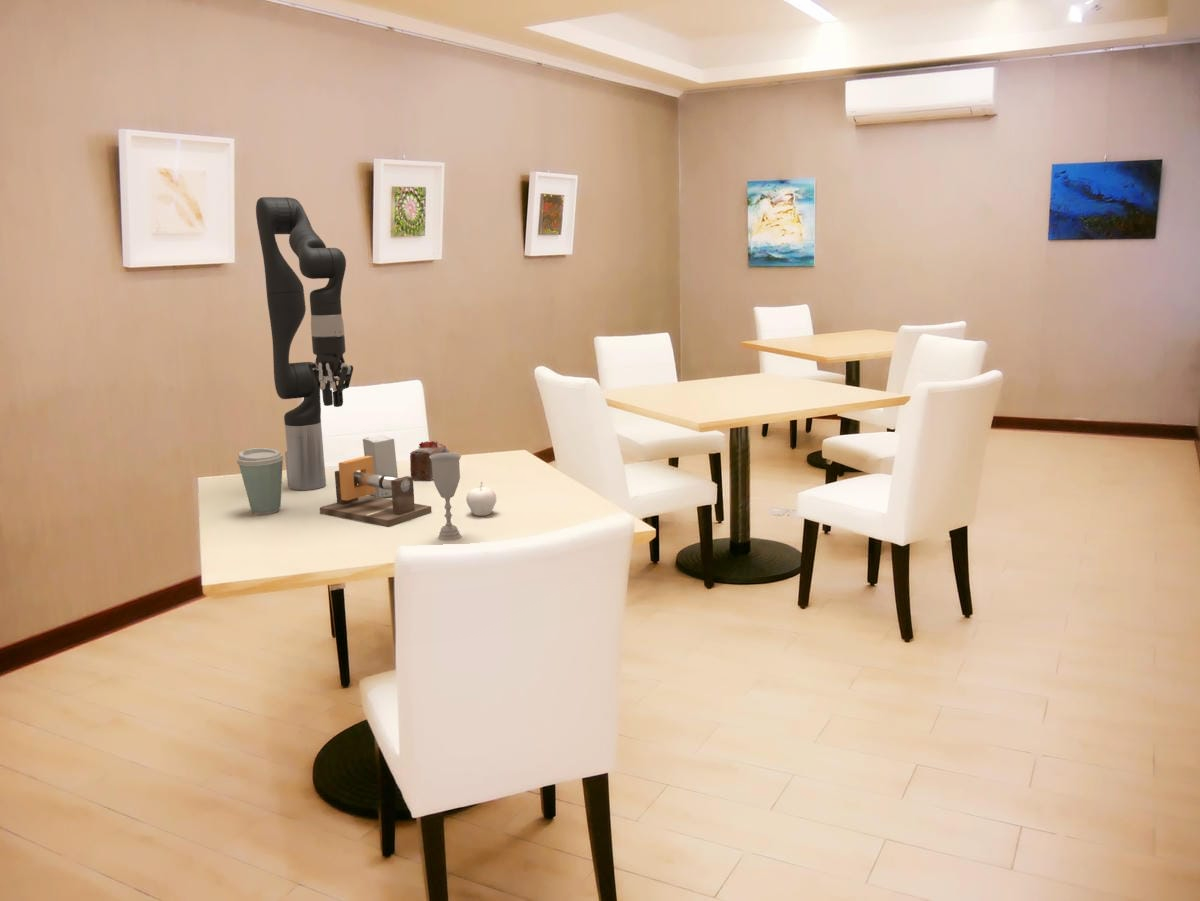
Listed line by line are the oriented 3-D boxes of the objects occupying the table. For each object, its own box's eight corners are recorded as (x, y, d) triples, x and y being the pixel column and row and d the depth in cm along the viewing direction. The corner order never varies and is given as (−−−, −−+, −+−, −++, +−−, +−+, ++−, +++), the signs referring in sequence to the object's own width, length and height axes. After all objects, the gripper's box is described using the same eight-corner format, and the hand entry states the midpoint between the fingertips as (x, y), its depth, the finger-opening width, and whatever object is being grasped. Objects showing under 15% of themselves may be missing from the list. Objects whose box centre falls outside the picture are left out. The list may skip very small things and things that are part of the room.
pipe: (338, 483, 234) (337, 470, 233) (348, 480, 236) (347, 467, 236) (400, 493, 222) (400, 480, 222) (410, 490, 225) (410, 477, 224)
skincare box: (400, 495, 247) (396, 438, 244) (377, 499, 244) (373, 441, 241) (388, 489, 254) (384, 433, 251) (365, 492, 250) (361, 436, 247)
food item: (425, 470, 276) (423, 436, 274) (452, 470, 275) (450, 436, 273) (408, 481, 263) (406, 445, 261) (436, 481, 261) (434, 446, 259)
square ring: (341, 499, 230) (338, 462, 228) (369, 491, 237) (367, 455, 235) (347, 500, 229) (344, 463, 227) (375, 492, 236) (372, 456, 234)
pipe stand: (320, 513, 231) (317, 474, 229) (363, 500, 243) (361, 463, 241) (388, 526, 219) (386, 486, 217) (431, 512, 230) (429, 473, 228)
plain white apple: (473, 519, 223) (471, 486, 222) (463, 512, 230) (461, 480, 228) (501, 515, 226) (500, 482, 225) (490, 508, 233) (489, 476, 231)
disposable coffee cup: (297, 507, 237) (292, 447, 234) (269, 519, 227) (263, 456, 224) (261, 504, 241) (255, 445, 237) (232, 516, 231) (226, 454, 228)
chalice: (435, 532, 213) (430, 453, 210) (466, 531, 214) (462, 452, 210) (432, 542, 206) (427, 460, 203) (464, 541, 207) (460, 459, 203)
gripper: (295, 334, 229) (301, 406, 233) (335, 336, 222) (341, 410, 225) (320, 331, 236) (325, 401, 239) (360, 333, 228) (365, 405, 231)
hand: (333, 405), depth 232 cm, fingers open, 3 cm apart
